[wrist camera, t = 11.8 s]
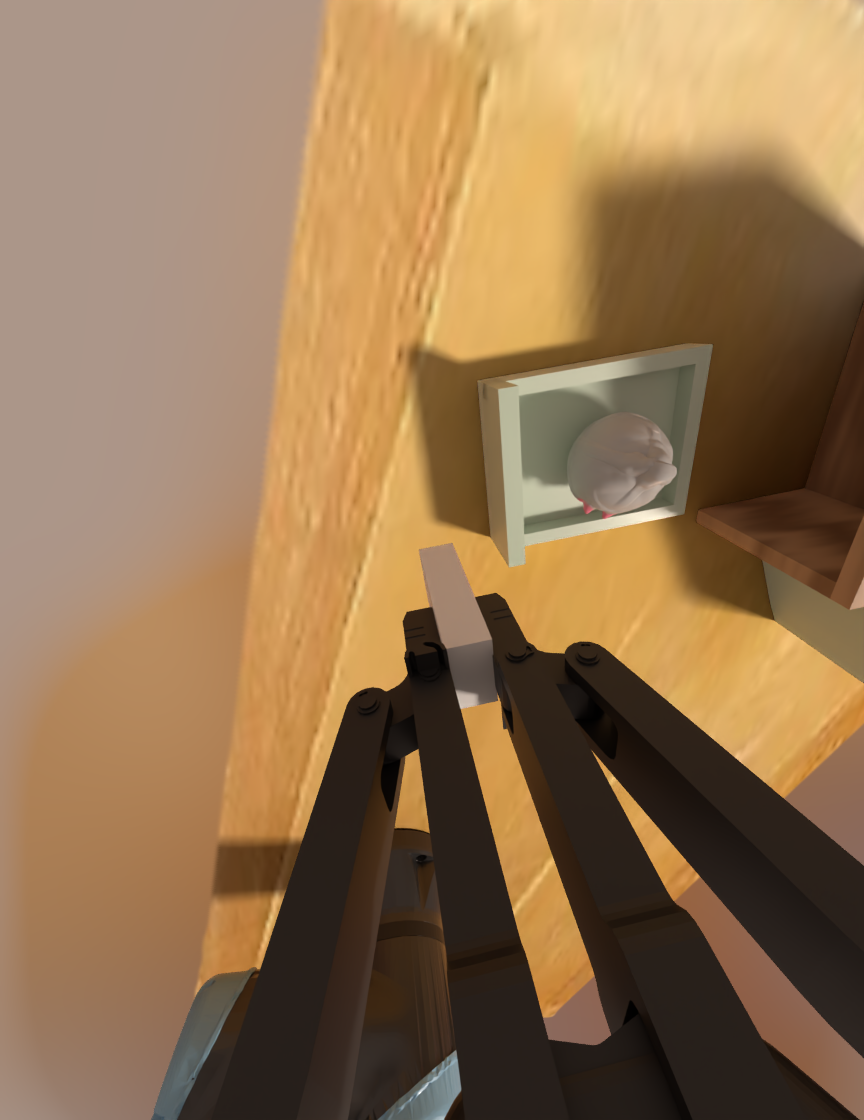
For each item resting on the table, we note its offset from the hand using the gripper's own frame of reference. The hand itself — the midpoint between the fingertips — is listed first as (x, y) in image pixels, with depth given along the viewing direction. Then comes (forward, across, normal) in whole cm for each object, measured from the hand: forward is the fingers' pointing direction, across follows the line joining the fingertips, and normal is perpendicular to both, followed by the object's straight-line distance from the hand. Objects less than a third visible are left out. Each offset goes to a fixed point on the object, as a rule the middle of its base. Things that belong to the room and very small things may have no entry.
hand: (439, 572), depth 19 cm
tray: (+14, +13, 0) cm, 19 cm away
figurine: (+13, +14, -1) cm, 19 cm away
